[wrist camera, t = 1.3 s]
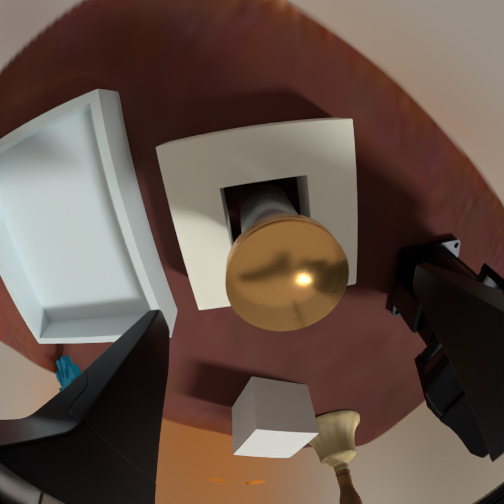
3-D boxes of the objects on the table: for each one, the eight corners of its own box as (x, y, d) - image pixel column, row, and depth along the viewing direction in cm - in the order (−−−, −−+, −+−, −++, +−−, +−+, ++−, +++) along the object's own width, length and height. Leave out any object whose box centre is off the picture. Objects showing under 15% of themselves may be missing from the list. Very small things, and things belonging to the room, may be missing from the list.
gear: (57, 341, 20) (103, 446, 17) (110, 332, 25) (156, 424, 22) (47, 377, 25) (81, 454, 22) (86, 369, 30) (121, 440, 26)
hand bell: (371, 408, 31) (407, 512, 16) (339, 439, 34) (363, 530, 20) (317, 408, 29) (346, 532, 15) (288, 439, 32) (304, 543, 18)
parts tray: (118, 91, 14) (97, 88, 11) (177, 310, 21) (171, 337, 19) (-13, 156, 14) (-37, 165, 11) (52, 322, 21) (38, 343, 19)
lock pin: (294, 165, 17) (349, 215, 9) (300, 231, 19) (346, 319, 11) (222, 176, 17) (213, 236, 9) (234, 242, 19) (237, 339, 11)
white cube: (251, 375, 25) (256, 428, 20) (307, 383, 27) (319, 432, 21) (231, 407, 28) (233, 454, 22) (281, 413, 29) (289, 458, 24)
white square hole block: (333, 117, 16) (352, 119, 13) (341, 261, 20) (356, 283, 18) (168, 141, 16) (155, 147, 13) (202, 284, 20) (199, 310, 18)
